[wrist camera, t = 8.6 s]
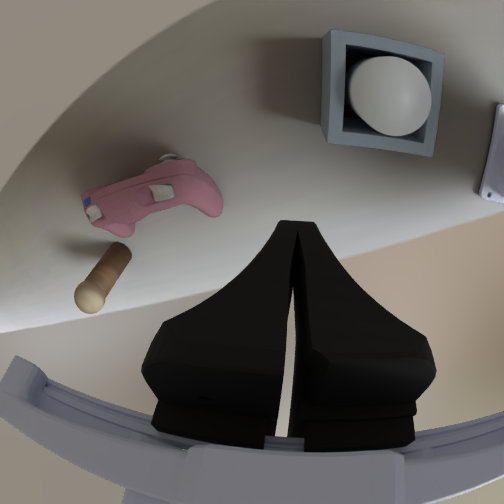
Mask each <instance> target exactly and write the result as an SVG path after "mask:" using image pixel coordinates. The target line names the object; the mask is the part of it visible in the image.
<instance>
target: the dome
mask: <svg viewBox="0 0 504 504" xmlns="http://www.w3.org/2000/svg"><path fill="white" fill-rule="evenodd" d="M344 94H345V97H346V100H347V102H348V104H349V106H350V107H351V109H352V110H353V111H354V112H355V113H356V114H357V115H358V116H359V117H360V118H362V119H363V120H364V121H365V122H366V123H367V124H369V125H370V126H371V127H372V128H374V129H375V130H377V131H378V132H380V133H383V134H386V135H390V136H403V135H407V134H410V133H412V132H414V131H416V130H417V129H418V128H420V127H421V126H422V125H423V123H424V122H425V121H426V119H427V117H428V115H429V112H430V109H431V100H432V99H431V91H430V88H429V85H428V82H427V80H426V78H425V77H424V75H423V74H422V73H421V71H420V70H419V69H418V68H417V67H416V66H414V65H413V64H412V63H410V62H408V61H406V60H404V59H402V58H398V57H392V56H383V57H369V58H364V59H361V60H359V61H358V62H356V63H355V64H354V65H352V66H351V68H350V69H349V70H348V72H347V74H346V76H345V93H344Z"/></svg>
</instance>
